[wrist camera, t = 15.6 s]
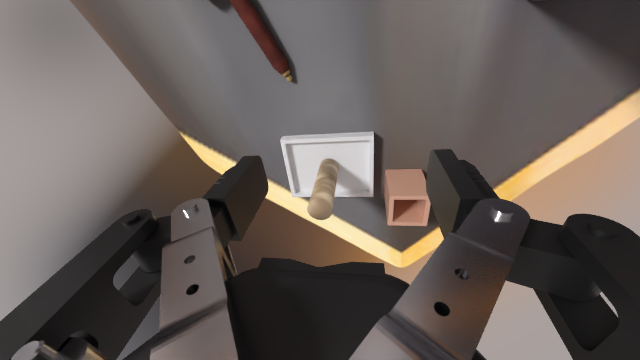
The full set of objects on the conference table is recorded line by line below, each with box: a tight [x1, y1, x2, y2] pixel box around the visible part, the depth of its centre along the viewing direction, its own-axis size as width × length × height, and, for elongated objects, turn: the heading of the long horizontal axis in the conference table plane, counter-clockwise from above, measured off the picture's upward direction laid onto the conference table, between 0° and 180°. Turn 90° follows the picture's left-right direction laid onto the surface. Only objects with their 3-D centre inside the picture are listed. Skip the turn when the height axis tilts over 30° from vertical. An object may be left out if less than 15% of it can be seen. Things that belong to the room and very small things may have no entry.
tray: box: [280, 132, 374, 197], centre depth 50 cm, size 18×14×2 cm
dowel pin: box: [307, 159, 339, 220], centre depth 45 cm, size 4×4×14 cm
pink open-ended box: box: [384, 169, 431, 226], centre depth 47 cm, size 7×7×9 cm
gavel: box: [229, 0, 292, 81], centre depth 37 cm, size 21×5×10 cm
